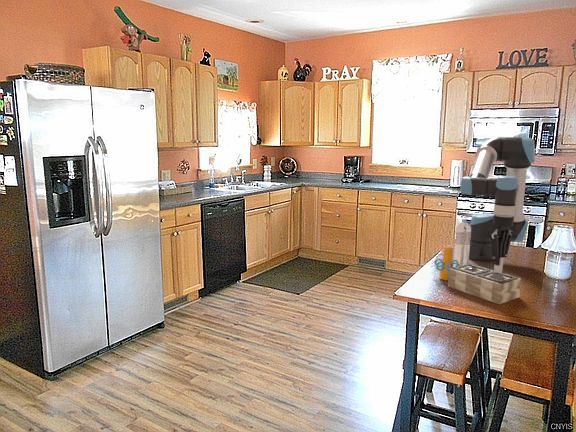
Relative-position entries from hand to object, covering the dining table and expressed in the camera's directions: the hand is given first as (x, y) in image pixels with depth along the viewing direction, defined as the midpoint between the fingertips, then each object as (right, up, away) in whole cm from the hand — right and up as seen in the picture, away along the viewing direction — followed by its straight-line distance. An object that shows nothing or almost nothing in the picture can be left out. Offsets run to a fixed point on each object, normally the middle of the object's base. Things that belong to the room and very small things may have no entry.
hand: (497, 272), depth 184 cm
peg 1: (-7, -7, +12) cm, 15 cm away
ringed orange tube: (-13, -6, +23) cm, 27 cm away
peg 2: (0, -8, +2) cm, 8 cm away
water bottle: (-1, -3, +36) cm, 37 cm away
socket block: (-3, -9, +7) cm, 12 cm away
